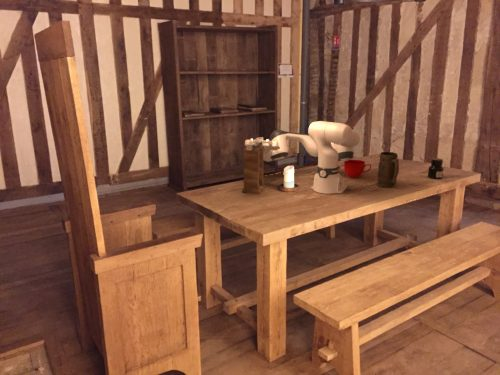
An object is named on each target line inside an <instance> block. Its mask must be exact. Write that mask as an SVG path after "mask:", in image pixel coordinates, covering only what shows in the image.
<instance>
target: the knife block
mask: <svg viewBox="0 0 500 375" xmlns="http://www.w3.org/2000/svg"><path fill="white" fill-rule="evenodd" d="M246 145H247V144H246ZM244 146H245V145H244ZM264 162H265V160H264V145H262V142H259V146H258V145H255V146H254V149H253V150H252V151H251V150H246V146H245V147H244V148H243V189H242V190H241V193H243V194H253V195H255V194H256V195H260V194H261V193H262V191H263V190H265V187H266V186H265V185H264V164H265V163H264Z"/></svg>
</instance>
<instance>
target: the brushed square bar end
mask: <svg viewBox="0 0 500 375" xmlns="http://www.w3.org/2000/svg"><path fill="white" fill-rule="evenodd" d="M263 141H264V137H263V136H262V137H261V136H259V137H256V138H255V139H254V140H253V141H251V142H250V143H248V144H247V145H246V150H251V151H252V150H253V149H254V146H255V145H258V146H259V142H262V143H263Z"/></svg>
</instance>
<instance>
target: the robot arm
mask: <svg viewBox="0 0 500 375" xmlns="http://www.w3.org/2000/svg"><path fill="white" fill-rule="evenodd" d="M307 130H308V131H307V133H301V132H293V131H286V130H282V129H276V130H273V131H272V133H271V134H270V135H269V138H268V139H266V140H263V143H262V145H264V162H272V161H276V162H279V161H283V160H285V158H287V157H288V156H289V148H288V141H298V142H300V143H301V145H302V146H303V147H304V149H305V151H306V152H307V153H308V155H310V156H311V157H314V158H316V157H317V166H316V173H315V174H314V179H313V185H311V187H310V188H311V189H313V190H314V192H316V193H319V194H328V195H329V194H342V193H344V191H345V190H346V189H347V188H348V186H347V184H344V177H343V175H341V174H340V169H341V165H339V161H340V162H341V161H342V162H344V161H348V160H353V158H354V155H355V153H354V148H355V147H357V146H358V145H359V143H360V142H361V137H360V134H359V133H358V132H357V131H356V130H354V129H352V128H351V126H350V125H348V124H345V123H342V122H332V121H324V120H319V121H318V120H317V121H312V122H311V123H310V125H309V127H308V129H307ZM253 140H255V139H254V138H250V139H245V141H244V146H246V144H248V143H250V142H251V141H253ZM287 140H288V141H287Z"/></svg>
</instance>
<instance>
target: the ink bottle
mask: <svg viewBox="0 0 500 375" xmlns="http://www.w3.org/2000/svg"><path fill="white" fill-rule="evenodd" d="M443 162H444V159H442V158H439V157H438V158H437V157H434V158H431V160H430V165H429V166H428V169H427V170H428V171H427V178H429V179H435V180H441V179H443V176H444V167H443Z"/></svg>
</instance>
